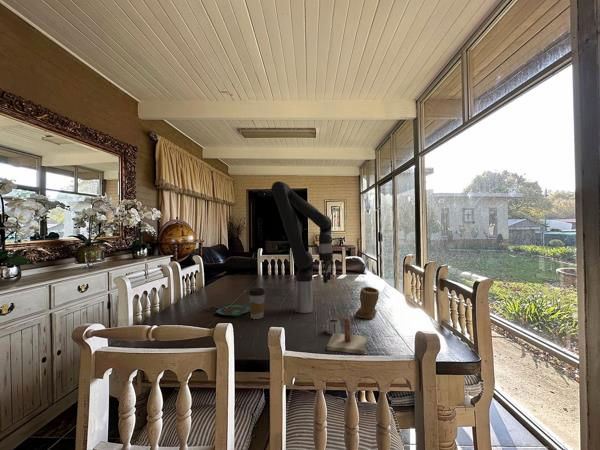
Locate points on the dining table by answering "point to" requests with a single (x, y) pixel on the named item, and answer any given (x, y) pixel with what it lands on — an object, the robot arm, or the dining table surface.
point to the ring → (333, 326)
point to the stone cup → (368, 302)
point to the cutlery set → (234, 311)
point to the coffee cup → (257, 303)
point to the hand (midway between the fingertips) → (327, 281)
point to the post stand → (347, 341)
